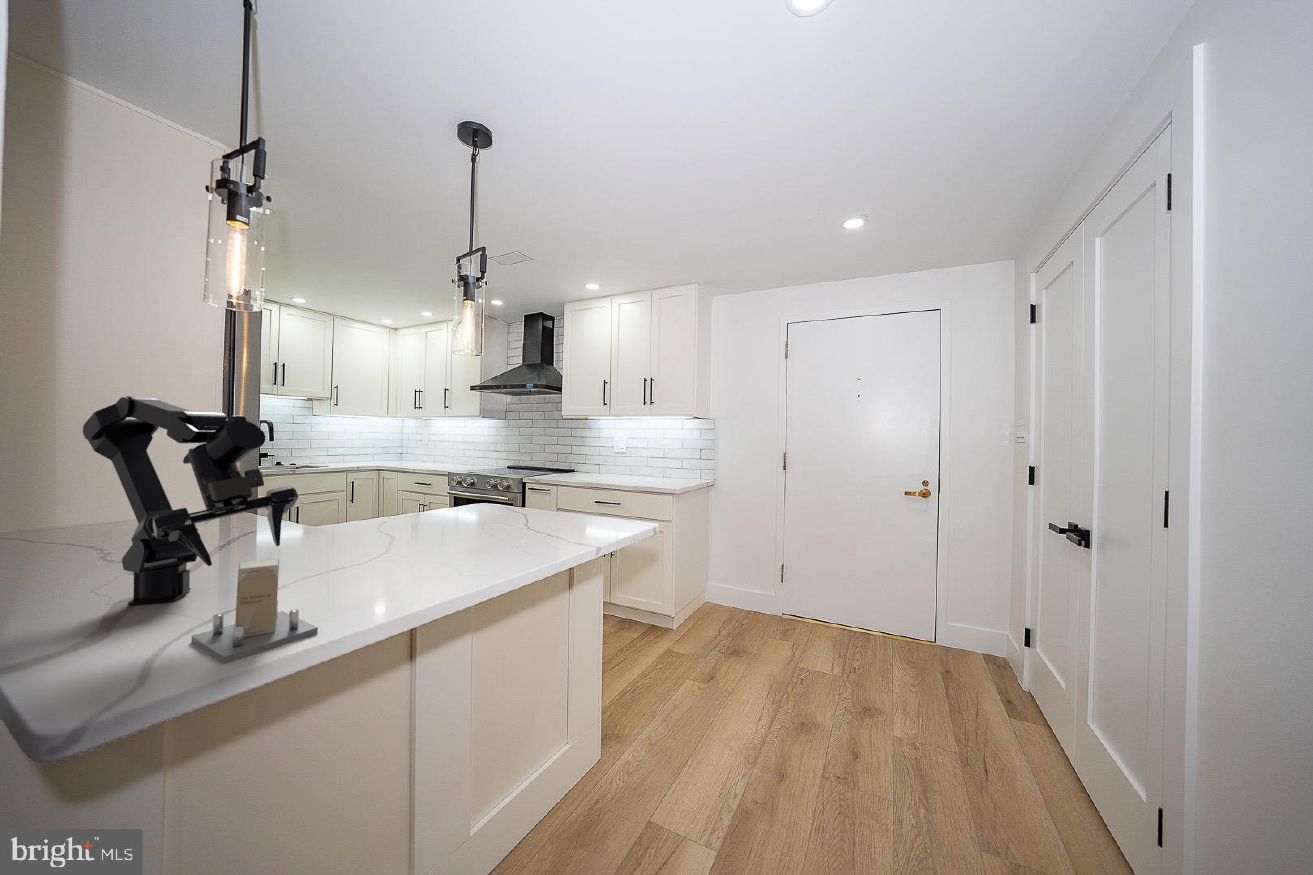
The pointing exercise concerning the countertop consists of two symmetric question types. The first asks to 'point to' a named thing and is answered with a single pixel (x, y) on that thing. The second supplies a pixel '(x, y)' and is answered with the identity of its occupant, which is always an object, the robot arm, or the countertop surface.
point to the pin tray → (251, 637)
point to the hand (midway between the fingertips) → (245, 555)
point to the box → (257, 596)
